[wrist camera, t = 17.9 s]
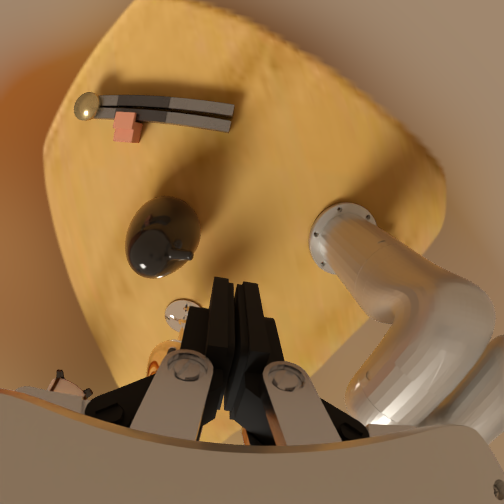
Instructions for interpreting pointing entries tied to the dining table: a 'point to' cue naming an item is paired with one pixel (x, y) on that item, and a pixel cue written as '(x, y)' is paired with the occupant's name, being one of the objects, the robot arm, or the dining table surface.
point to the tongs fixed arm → (145, 115)
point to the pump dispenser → (162, 237)
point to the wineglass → (176, 321)
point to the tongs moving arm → (167, 104)
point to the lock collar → (126, 127)
